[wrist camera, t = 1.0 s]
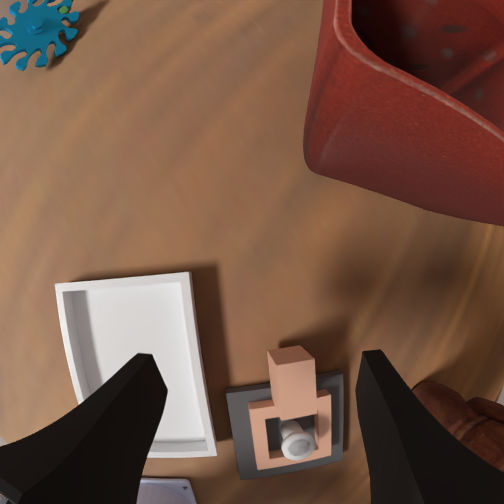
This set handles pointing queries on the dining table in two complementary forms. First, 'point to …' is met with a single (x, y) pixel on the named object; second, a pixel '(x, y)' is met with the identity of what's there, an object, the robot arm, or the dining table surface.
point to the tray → (142, 349)
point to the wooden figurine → (467, 420)
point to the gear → (37, 31)
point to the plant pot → (412, 103)
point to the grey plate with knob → (284, 428)
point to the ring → (291, 405)
